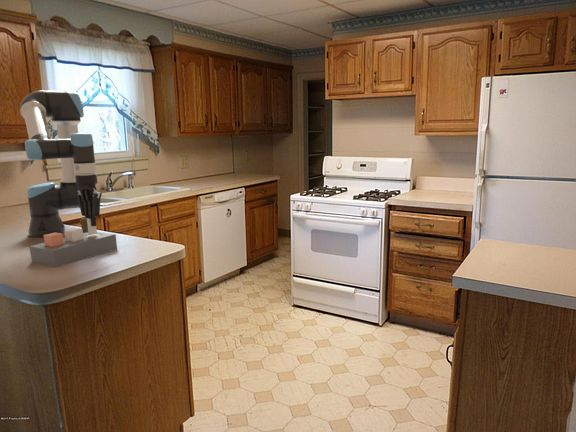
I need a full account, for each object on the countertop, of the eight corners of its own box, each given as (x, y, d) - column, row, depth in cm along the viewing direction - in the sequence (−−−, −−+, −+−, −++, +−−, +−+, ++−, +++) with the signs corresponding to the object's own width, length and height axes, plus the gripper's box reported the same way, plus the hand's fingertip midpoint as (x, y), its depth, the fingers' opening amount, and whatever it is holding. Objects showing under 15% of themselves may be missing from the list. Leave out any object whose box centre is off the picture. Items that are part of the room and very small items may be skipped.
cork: (92, 239, 187) (89, 215, 185) (99, 241, 183) (96, 216, 181) (78, 242, 182) (75, 217, 180) (85, 245, 178) (82, 219, 176)
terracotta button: (44, 245, 155) (43, 235, 154) (56, 242, 158) (55, 232, 158) (52, 247, 153) (50, 236, 152) (63, 244, 156) (62, 233, 156)
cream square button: (85, 246, 169) (84, 236, 168) (95, 243, 173) (94, 233, 172) (93, 247, 167) (91, 237, 166) (102, 244, 171) (101, 234, 170)
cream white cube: (65, 240, 162) (64, 230, 161) (76, 238, 165) (74, 227, 165) (72, 241, 159) (71, 231, 159) (83, 239, 163) (82, 228, 162)
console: (31, 262, 156) (29, 246, 155) (94, 245, 178) (92, 230, 177) (55, 267, 149) (53, 250, 148) (117, 248, 171) (115, 234, 170)
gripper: (66, 174, 164) (73, 234, 169) (88, 175, 158) (95, 237, 163) (83, 172, 171) (90, 230, 176) (105, 173, 165) (111, 233, 169)
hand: (92, 233), depth 169 cm, fingers closed
